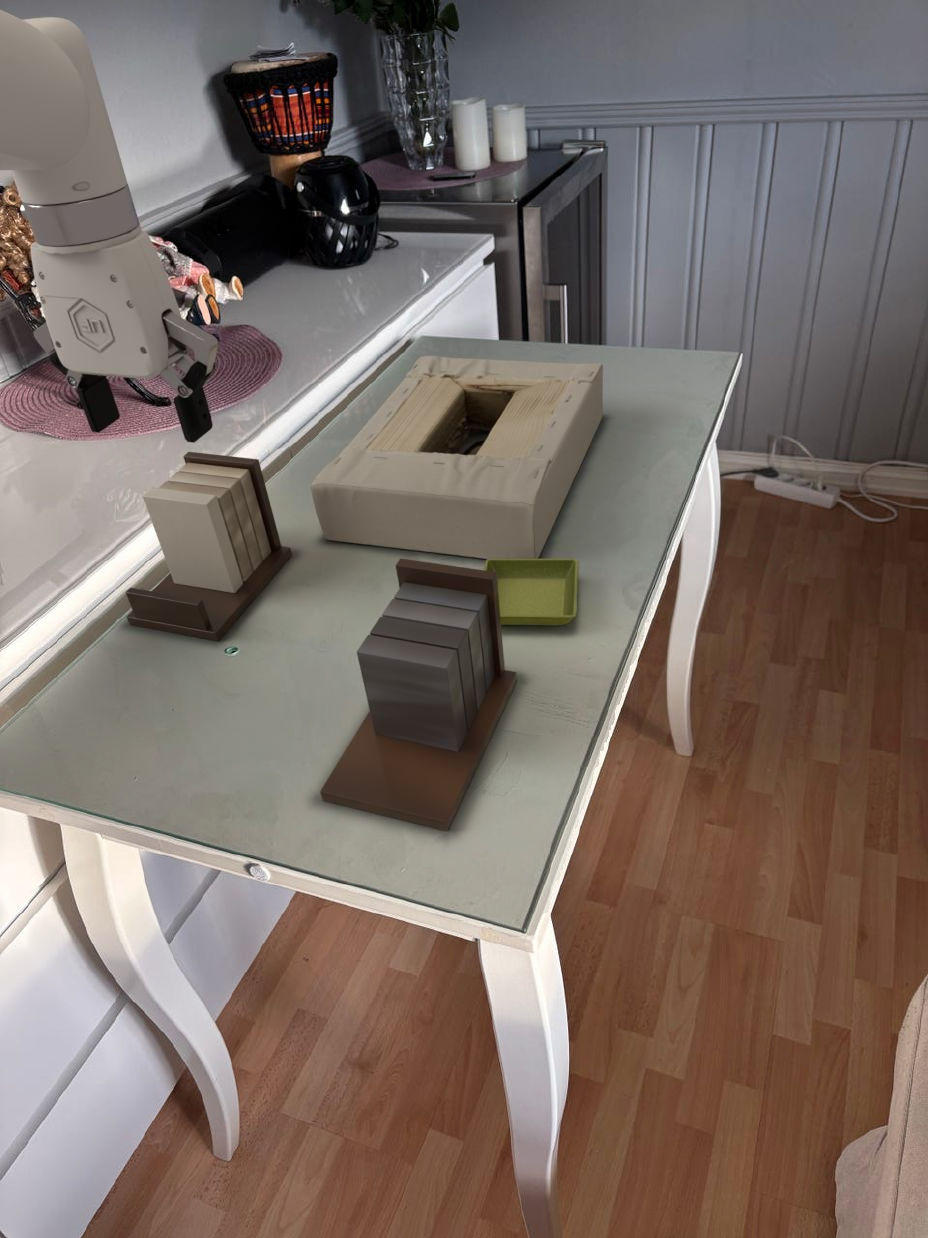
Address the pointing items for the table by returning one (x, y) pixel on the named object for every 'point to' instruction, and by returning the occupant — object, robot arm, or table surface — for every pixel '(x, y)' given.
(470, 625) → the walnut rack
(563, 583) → the green tray
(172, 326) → the robot arm
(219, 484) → the dark brown rack
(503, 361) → the box
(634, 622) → the table surface
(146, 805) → the table surface
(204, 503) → the cream book
